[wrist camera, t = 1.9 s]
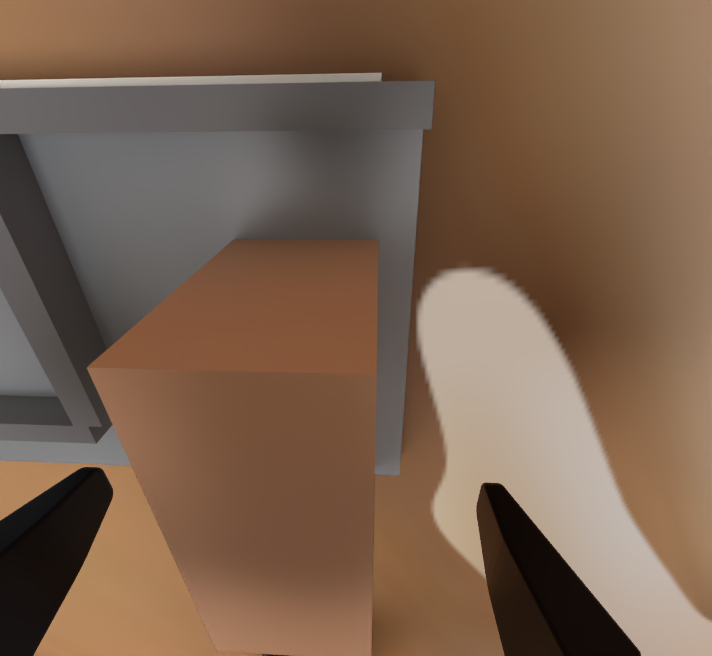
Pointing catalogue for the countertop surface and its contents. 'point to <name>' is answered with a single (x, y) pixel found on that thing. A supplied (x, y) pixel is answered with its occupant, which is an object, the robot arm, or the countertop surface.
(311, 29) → the countertop surface
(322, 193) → the compartment tray
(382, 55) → the countertop surface
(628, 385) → the countertop surface
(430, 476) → the countertop surface
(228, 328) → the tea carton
